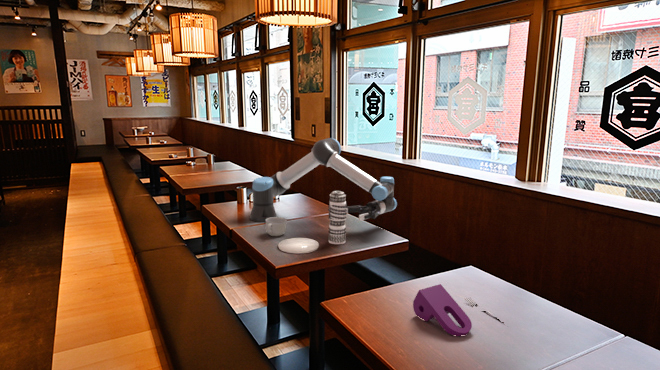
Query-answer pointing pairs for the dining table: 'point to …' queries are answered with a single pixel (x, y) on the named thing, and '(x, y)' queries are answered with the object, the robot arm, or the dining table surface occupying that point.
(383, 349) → the dining table surface
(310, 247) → the candle plate
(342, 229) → the decorative candle
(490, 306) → the dining table surface
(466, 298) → the fork
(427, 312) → the mounting bracket
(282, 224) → the teacup
